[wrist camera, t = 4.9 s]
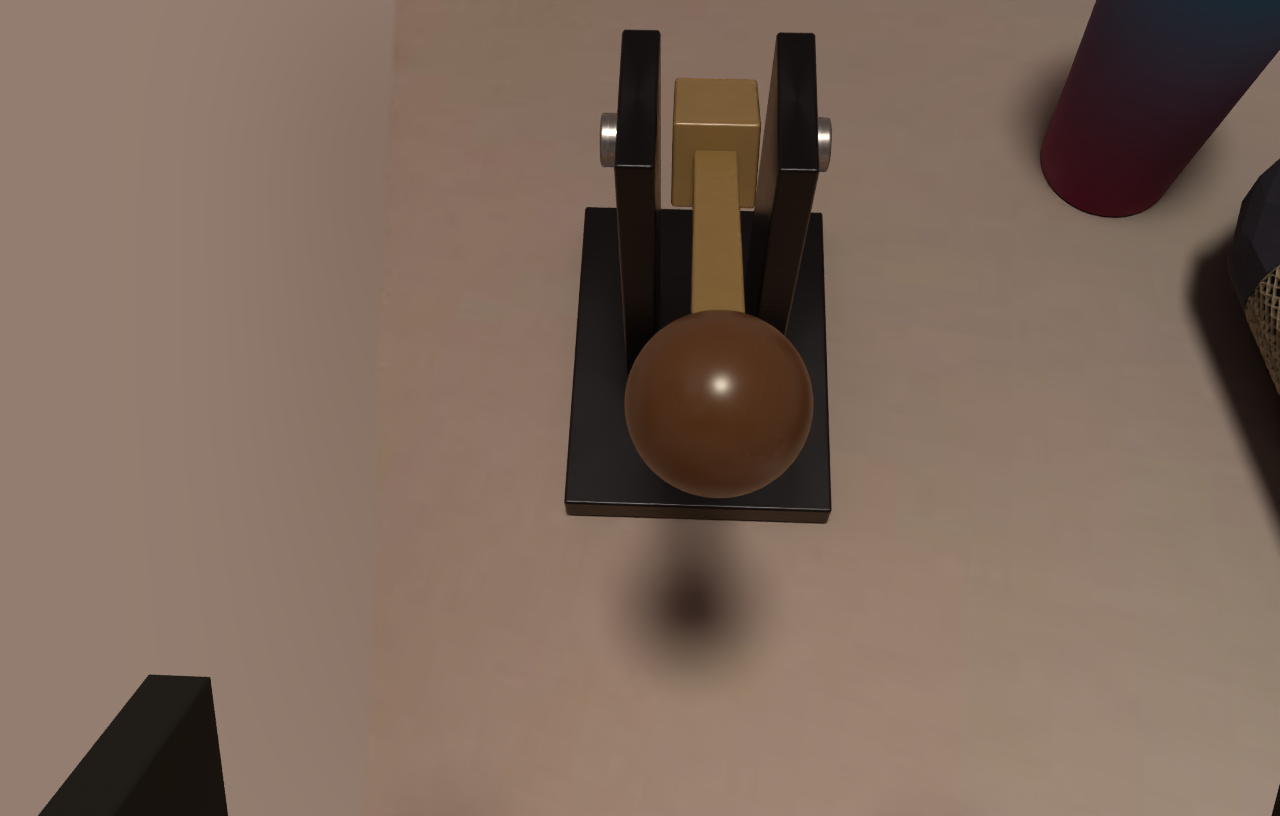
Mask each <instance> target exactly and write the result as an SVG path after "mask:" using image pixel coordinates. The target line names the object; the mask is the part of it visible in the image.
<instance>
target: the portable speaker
mask: <svg viewBox="0 0 1280 816" xmlns="http://www.w3.org/2000/svg"><path fill="white" fill-rule="evenodd" d="M1227 268H1228V273H1229V277H1230V279H1231V282H1232V284H1233V287H1234V289H1235V292H1236V294H1237V297H1238V299H1239V302H1240V304H1241V307H1242V309H1243V312H1244V314H1245V317H1246V320H1247V322H1248V324H1249V326H1250V329H1251V332H1252V333H1253V335H1254V338H1255V341H1256V343H1257V345H1258V347H1259V349H1260V352H1261V355H1262V357H1263V358H1264V361H1265V364H1266V367H1267V368H1268V370H1269V372H1270V375H1271V378H1272V380H1273V382H1274V384H1275V386H1276V389H1277V392H1278V394H1279V395H1280V159H1279V160H1278V161H1276V162H1275V163H1274V164H1273V165H1272V166H1271V167H1270V168H1269V169H1267V170H1266V171H1265V172H1264V173H1263V174H1262V175H1261V176H1260V177H1259V178H1258V179H1257V181H1256V182H1255V184H1254V185H1253V187H1252V188H1251V190H1250V191H1249V192H1248V194H1247V195H1246V197H1245V198H1244V200H1243V201H1242V204H1241V209H1240V213H1239V217H1238V222H1237V226H1236V230H1235V235H1234V239H1233V243H1232V247H1231V251H1230V255H1229V259H1228V263H1227ZM1270 337H1271V338H1270ZM1275 342H1276V344H1275ZM1275 349H1276V350H1275Z"/></svg>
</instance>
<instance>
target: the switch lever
mask: <svg viewBox="0 0 1280 816" xmlns="http://www.w3.org/2000/svg"><path fill="white" fill-rule="evenodd" d="M760 133H761V121H760V110H759V98H758V86H757V81H756V80H746V79H697V78H677V79H676V80H675V92H674V113H673V143H672V188H671V203H672V205H673V206H680V207H693V208H692V270H691V314H689V315H686V316H684V317H681V318H679V319H677V320H675V321H673V322H671V323H670V324H668V325H667V326H665V327H664V328H662V329H661V330H660V331H659V332H657V333H656V334H655V335H654V336H653V337H652V338H651V339H650V340H649V341H648V342H647V344H646V345H645V346H644V347H643V349H642V350H641V352H640V353H639V355H638V356H637V358H636V360H635V362H634V364H633V366H632V369H631V371H630V374H629V377H628V381H627V385H626V390H625V418H626V422H627V427H628V430H629V434H630V437H631V439H632V441H633V444H634V446H635V448H636V450H637V452H638V453H639V455H640V456H641V458H642V459H643V460H644V462H645V463H646V464H647V465H648V467H649V468H650V469H651V470H652V471H653V472H654V473H656V474H657V475H658V476H659V477H660V478H661V479H663V480H664V481H665V482H667V483H669V484H670V485H672V486H674V487H676V488H678V489H680V490H682V491H684V492H687V493H690V494H693V495H697V496H702V497H708V498H730V497H736V496H741V495H745V494H748V493H751V492H754V491H756V490H758V489H761V488H763V487H764V486H766V485H768V484H770V483H771V482H772V481H774V480H775V479H777V478H778V477H779V476H780V475H782V474H783V473H784V472H785V471H786V469H787V468H788V467H789V466H790V465H791V464H792V463H793V462H794V460H795V459H796V457H797V456H798V454H799V453H800V451H801V450H802V448H803V446H804V444H805V441H806V439H807V436H808V434H809V431H810V427H811V422H812V417H813V391H812V385H811V380H810V377H809V374H808V371H807V368H806V366H805V364H804V362H803V360H802V358H801V356H800V354H799V353H798V351H797V350H796V349H795V347H794V346H793V345H792V343H791V342H790V341H789V340H788V339H787V338H786V337H785V336H784V335H783V334H782V333H781V332H779V331H778V330H777V329H776V328H775V327H773V326H772V325H770V324H768V323H767V322H765V321H763V320H761V319H759V318H757V317H755V316H752V315H749V314H746V313H745V300H744V279H743V258H742V237H741V216H740V208H754V206H755V200H756V186H757V173H758V159H759V146H760Z"/></svg>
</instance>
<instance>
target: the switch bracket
mask: <svg viewBox="0 0 1280 816" xmlns="http://www.w3.org/2000/svg"><path fill="white" fill-rule="evenodd" d="M831 140H832V129H831V121H830V118H824V117H818V110H817V77H816V44H815V35H814V34H813V33H781V32H780V33H778V34H777V36H776V44H775V52H774V60H773V67H772V75H771V83H770V91H769V99H768V106H767V114H766V122H765V130H764V138H763V146H762V153H761V161H760V169H759V177H758V185H757V193H756V200H755V208H754V211H740V216H741V237H742V258H743V279H744V300H745V313H746V314H749V315H752V316H755V317H757V318H759V319H761V320H763V321H765V322H767V323H768V324H770V325H772V326H773V327H775V328H776V329H777V330H778V331H779V332H781V333H782V334H783V335H784V336H785V337H786V338H787V339H788V340H789V341H790V342H791V343H792V345H793V346H794V347H795V349H796V350H797V351H798V353H799V354H800V356H801V358H802V360H803V362H804V364H805V366H806V368H807V371H808V374H809V377H810V380H811V385H812V391H813V417H812V422H811V427H810V431H809V434H808V436H807V439H806V441H805V444H804V446H803V448H802V450H801V451H800V453H799V454H798V456H797V457H796V459H795V460H794V462H793V463H792V464H791V465H790V466H789V467H788V468H787V469H786V471H785V472H784V473H783V474H782V475H780V476H779V477H778V478H777V479H775V480H774V481H772V482H771V483H770V484H768V485H766V486H764V487H763V488H761V489H758V490H756V491H754V492H751V493H748V494H745V495H741V496H736V497H730V498H708V497H702V496H697V495H693V494H690V493H687V492H684V491H682V490H680V489H678V488H676V487H674V486H672V485H670V484H669V483H667V482H665V481H664V480H663V479H661V478H660V477H659V476H658V475H657V474H656V473H654V472H653V471H652V470H651V469H650V468H649V467H648V465H647V464H646V463H645V462H644V460H643V459H642V458H641V456H640V455H639V453H638V452H637V450H636V448H635V446H634V444H633V441H632V439H631V437H630V434H629V430H628V427H627V422H626V418H625V390H626V385H627V381H628V377H629V374H630V371H631V369H632V366H633V364H634V362H635V360H636V358H637V356H638V355H639V353H640V352H641V350H642V349H643V347H644V346H645V345H646V344H647V342H648V341H649V340H650V339H651V338H652V337H653V336H654V335H655V334H656V333H657V332H659V331H660V330H661V329H662V328H664V327H665V326H667V325H668V324H670V323H671V322H673V321H675V320H677V319H679V318H681V317H684V316H686V315H689V314H691V270H692V210H680V209H661V34H660V32H659V31H658V30H624V31H623V33H622V44H621V60H620V77H619V94H618V110H617V113H603V114H602V116H601V124H600V161H601V165H602V166H603V167H614V172H615V189H616V205H617V208H597V207H587V208H586V209H585V220H584V234H583V248H582V262H581V276H580V290H579V304H578V318H577V332H576V346H575V360H574V374H573V388H572V402H571V416H570V430H569V444H568V458H567V472H566V486H565V500H564V502H565V507H566V511H567V514H575V515H606V516H636V517H667V518H698V519H729V520H760V521H790V522H821V523H825V522H827V520H828V518H829V515H830V513H831V478H830V446H829V413H828V381H827V349H826V316H825V284H824V251H823V219H822V213H811V209H812V204H813V199H814V194H815V190H816V185H817V180H818V175H819V172H826V171H827V169H828V167H829V162H830V155H831Z"/></svg>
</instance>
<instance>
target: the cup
mask: <svg viewBox="0 0 1280 816" xmlns="http://www.w3.org/2000/svg"><path fill="white" fill-rule="evenodd" d="M1279 50H1280V0H1096V3H1095V5H1094V8H1093V11H1092V13H1091V16H1090V19H1089V21H1088V24H1087V27H1086V29H1085V32H1084V35H1083V38H1082V40H1081V43H1080V46H1079V48H1078V51H1077V54H1076V56H1075V59H1074V62H1073V64H1072V67H1071V70H1070V72H1069V75H1068V78H1067V81H1066V83H1065V86H1064V89H1063V91H1062V94H1061V97H1060V99H1059V102H1058V105H1057V107H1056V110H1055V113H1054V115H1053V118H1052V121H1051V124H1050V126H1049V129H1048V132H1047V134H1046V137H1045V140H1044V142H1043V146H1042V151H1041V164H1042V168H1043V171H1044V175H1045V176H1046V178H1047V180H1048V182H1049V184H1050V185H1051V186H1052V188H1053V189H1054V190H1055V191H1056V192H1057V193H1058V194H1059V195H1060V196H1061V197H1062V198H1063V199H1065V200H1066V201H1067V202H1069V203H1070V204H1072V205H1074V206H1075V207H1077V208H1079V209H1082V210H1084V211H1087V212H1089V213H1093V214H1097V215H1101V216H1112V217H1118V216H1128V215H1132V214H1136V213H1139V212H1141V211H1143V210H1145V209H1147V208H1150V207H1151V206H1152V205H1153V204H1155V203H1156V202H1157V201H1158V200H1159V199H1160V198H1161V197H1162V195H1163V194H1164V193H1165V192H1166V190H1167V189H1168V188H1169V187H1170V185H1171V184H1172V183H1173V182H1174V180H1175V179H1176V178H1177V177H1178V175H1179V174H1180V173H1181V172H1182V170H1183V169H1184V168H1185V167H1186V165H1187V164H1188V163H1189V162H1190V161H1191V159H1192V158H1193V157H1194V156H1195V154H1196V153H1197V152H1198V151H1199V149H1200V148H1201V147H1202V146H1203V144H1204V143H1205V142H1206V141H1207V139H1208V138H1209V137H1210V136H1211V134H1212V133H1213V132H1214V131H1215V129H1216V128H1217V127H1218V126H1219V125H1220V123H1221V122H1222V121H1223V120H1224V118H1225V117H1226V116H1227V115H1228V113H1229V112H1230V111H1231V110H1232V108H1233V107H1234V106H1235V105H1236V103H1237V102H1238V101H1239V100H1240V98H1241V97H1242V96H1243V95H1244V93H1245V92H1246V91H1247V90H1248V89H1249V87H1250V86H1251V85H1252V84H1253V82H1254V81H1255V80H1256V79H1257V77H1258V76H1259V75H1260V74H1261V72H1262V71H1263V70H1264V69H1265V67H1266V66H1267V65H1268V64H1269V62H1270V61H1271V60H1272V59H1273V57H1274V56H1275V55H1276V54H1277V53H1278V51H1279Z"/></svg>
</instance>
